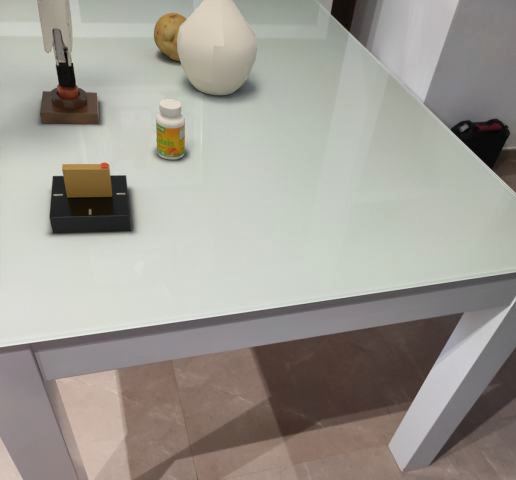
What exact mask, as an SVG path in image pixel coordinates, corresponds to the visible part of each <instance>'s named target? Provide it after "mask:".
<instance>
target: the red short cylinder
mask: <svg viewBox="0 0 516 480" xmlns="http://www.w3.org/2000/svg"><path fill="white" fill-rule="evenodd" d="M56 88H57V90H58V96H59V97H63V98H74V97H78V96H79V93H78V88H79V87H78V85H77V84H76V86H75V87H61V86H59V83H57V85H56Z"/></svg>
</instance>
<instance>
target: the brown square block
mask: <svg viewBox="0 0 516 480" xmlns="http://www.w3.org/2000/svg"><path fill="white" fill-rule="evenodd" d="M78 93H79V96H78V97H74V98H63V97H59V96H58V90H57V87H55V88H52V89H51V90H47V91H46V90H42V95H41V103H40V110H39V115H40V120H41V123H42V124H55V125H56V124H59V125H60V124H63V125H64V124H67V125H100V117H99V116H100V115H99V114H100V113H99V98H98V97H99V96H98V92H94V91H93V92H87V91H86V90H84V89H83V88H81V87H78Z"/></svg>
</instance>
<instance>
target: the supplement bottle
mask: <svg viewBox="0 0 516 480" xmlns="http://www.w3.org/2000/svg"><path fill="white" fill-rule="evenodd" d="M158 106H159V108H158V109H159V113H157V114H156V118H155V122H156V123H155V128H156V129H155V130H156V131H155V132H156V153H157V155H158V156H159V157H161V158H162V159H164V160H172V161H173V160H174V161H175V160H179V159H182V158H183V157H184V156H185V151H186V148H185V147H186V119H185V116H184V115H183V114H182V102H180V101H178V100H177V99H173V98H172V99H171V98H167V99H162V100H160V101H159V105H158Z"/></svg>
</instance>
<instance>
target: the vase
mask: <svg viewBox="0 0 516 480" xmlns="http://www.w3.org/2000/svg"><path fill="white" fill-rule="evenodd" d="M255 33H256V32H254V31H253V29H252V28H251V26H250V25H249V23H248V22H247V20H246V19H245V18H244V16H243V15H242V13H241V11H240V10H239V8H238V6H237V4H236V3H235V1H234V0H202V1H201V2H200V4H199V5H198V6H197V8H195V10H194V11H192V13H191V14H190V15H189V16H188V17H187V18H186V20H185V22H184V23H183V24H182V25H181V26H180V28H179V32H178V37H177V52H178V55H179V58H180V61H179V62H180V65H181V68H182V70H183V72H184V74H185V76H186V78H187V79H188V81H189V82H190V84H191V85H193V87H194V88H195V89H196V90H198V91H199V92H201V93H204V94H207V95H212V96H229V95H231V94H233V93H235V92H236V91H238V90H239V89H240V88H241V87H242V86H243V85H244V83H245V82H246V80H247V79H248V78H249V76H250V73H251V71H252V69H253V67H254V64H255V61H256V59H257V54H258V53H257V51H258V46H257V45H258V44H257V37H256V34H255Z"/></svg>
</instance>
